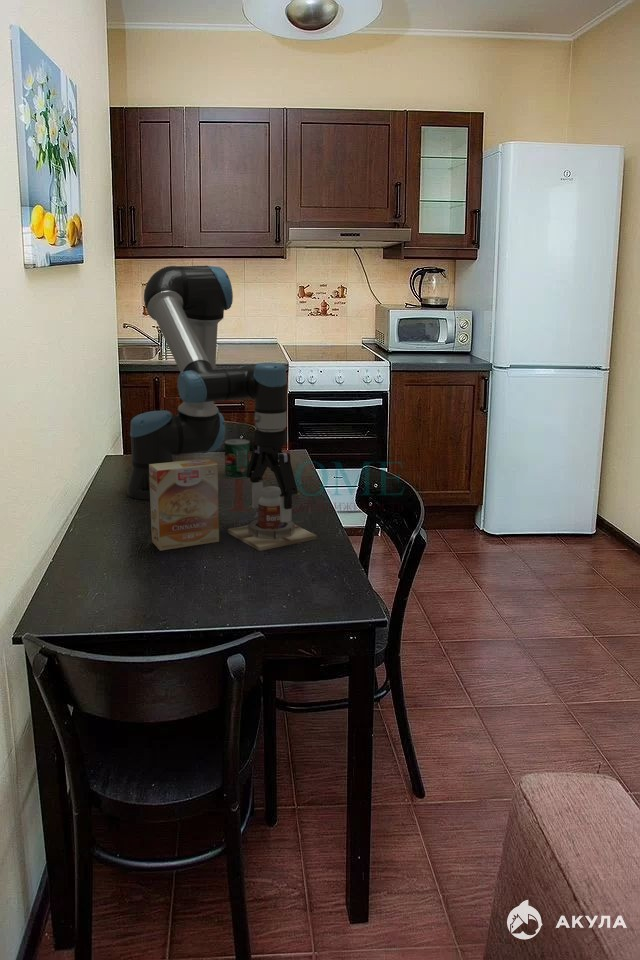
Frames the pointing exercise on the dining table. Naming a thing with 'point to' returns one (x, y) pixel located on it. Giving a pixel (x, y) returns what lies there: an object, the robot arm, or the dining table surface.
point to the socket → (271, 535)
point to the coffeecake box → (184, 503)
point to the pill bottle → (269, 508)
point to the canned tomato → (237, 458)
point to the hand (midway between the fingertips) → (271, 514)
